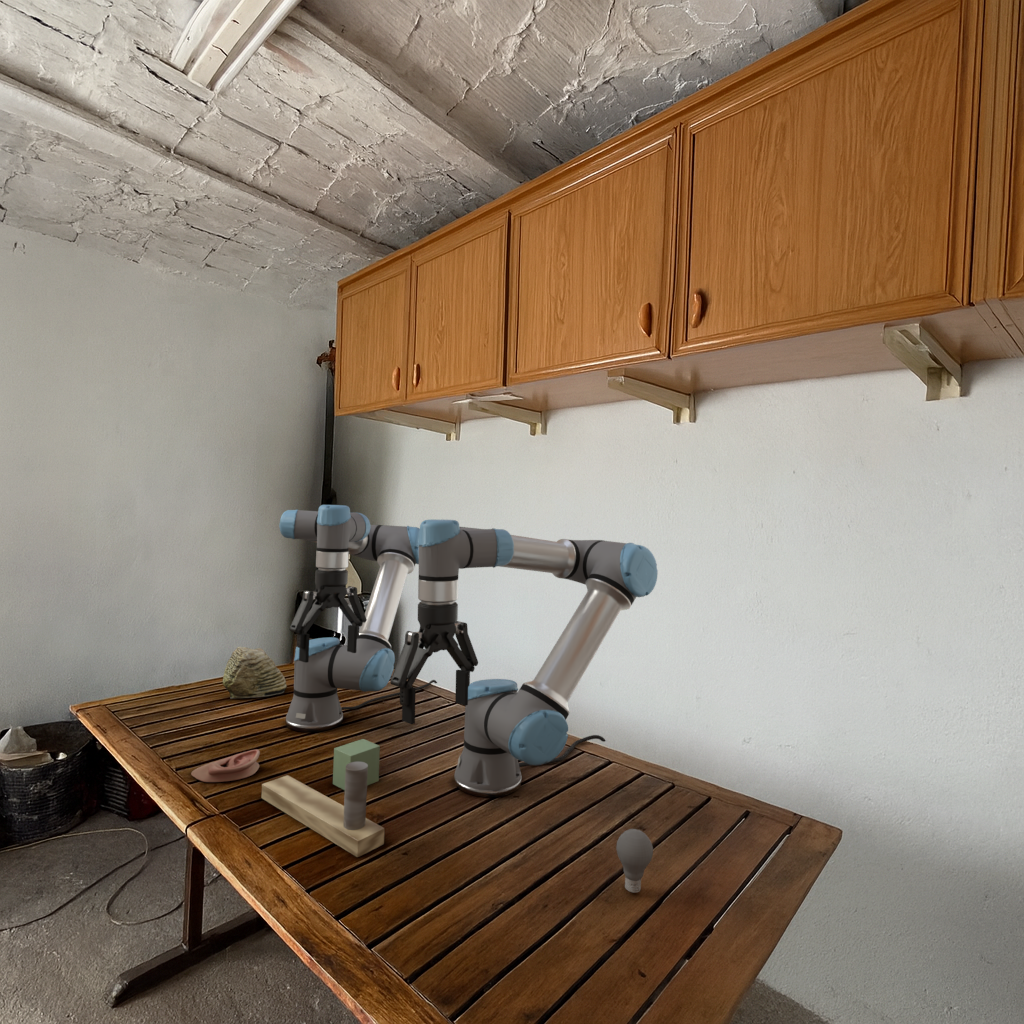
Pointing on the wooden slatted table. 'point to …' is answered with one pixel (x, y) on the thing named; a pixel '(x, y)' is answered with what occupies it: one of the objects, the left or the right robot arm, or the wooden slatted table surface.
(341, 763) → the green block
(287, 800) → the birch board
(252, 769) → the anatomical model
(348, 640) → the left robot arm
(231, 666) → the fossil
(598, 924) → the wooden slatted table surface
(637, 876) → the light bulb
